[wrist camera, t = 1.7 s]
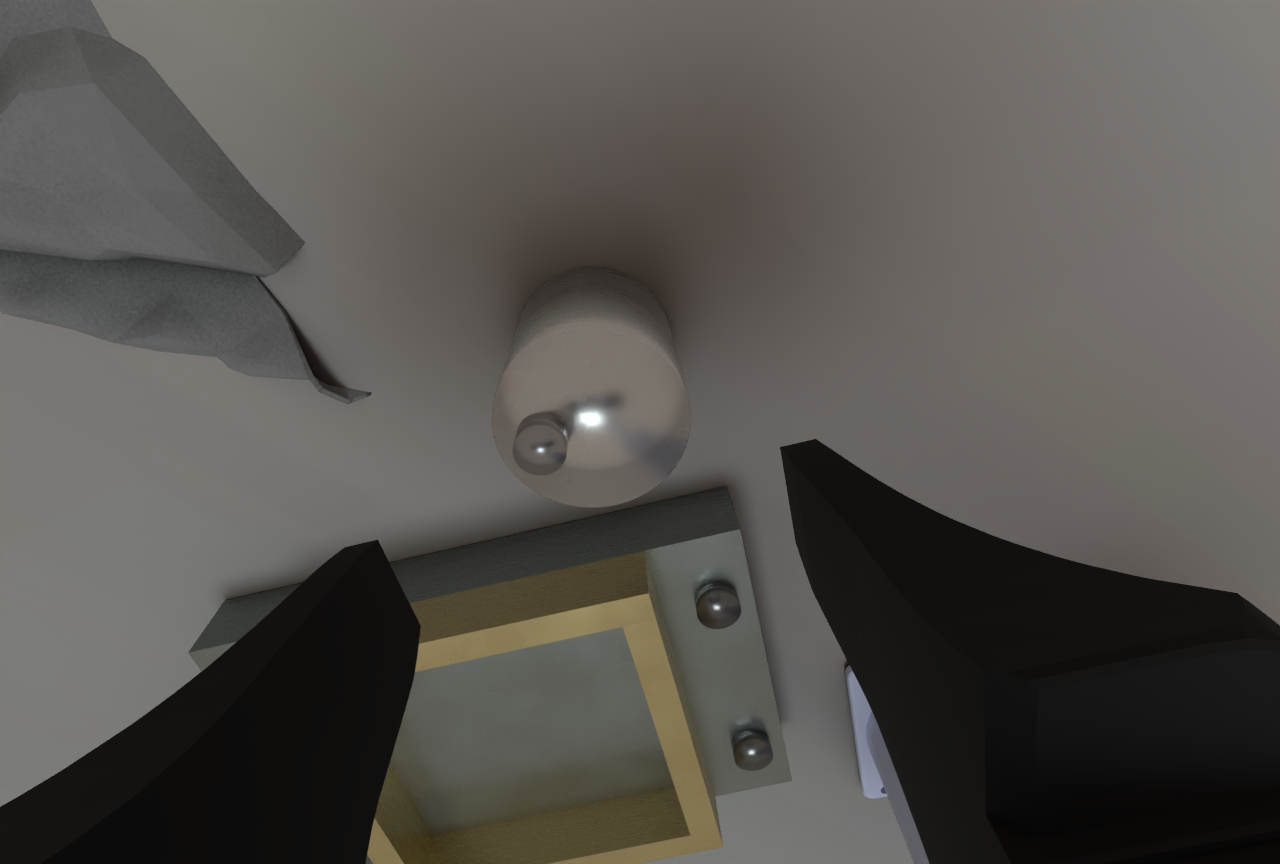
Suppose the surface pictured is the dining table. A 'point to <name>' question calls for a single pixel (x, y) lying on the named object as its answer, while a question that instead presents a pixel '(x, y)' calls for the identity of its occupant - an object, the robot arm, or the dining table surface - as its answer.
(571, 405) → the tin can
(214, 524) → the dining table surface
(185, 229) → the cloth
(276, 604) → the metal tray
